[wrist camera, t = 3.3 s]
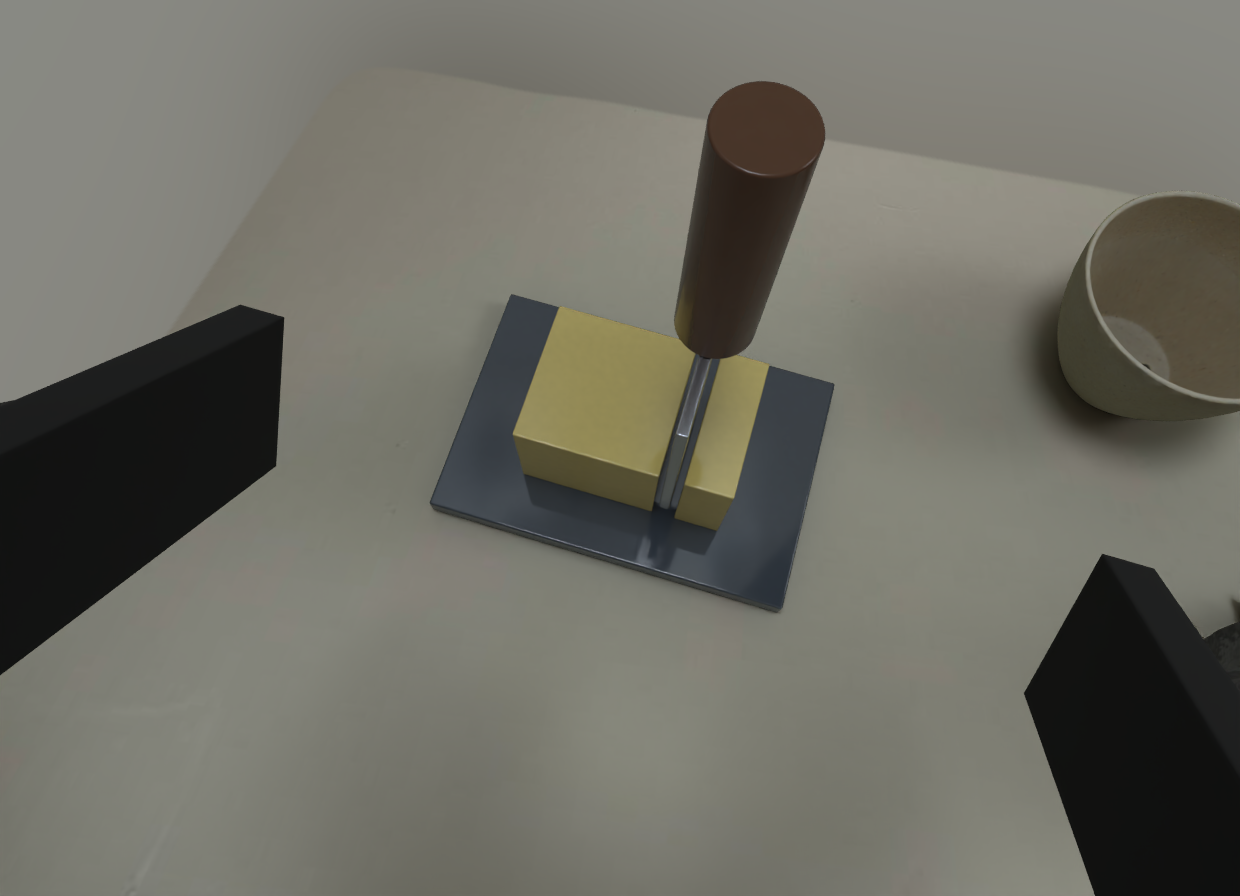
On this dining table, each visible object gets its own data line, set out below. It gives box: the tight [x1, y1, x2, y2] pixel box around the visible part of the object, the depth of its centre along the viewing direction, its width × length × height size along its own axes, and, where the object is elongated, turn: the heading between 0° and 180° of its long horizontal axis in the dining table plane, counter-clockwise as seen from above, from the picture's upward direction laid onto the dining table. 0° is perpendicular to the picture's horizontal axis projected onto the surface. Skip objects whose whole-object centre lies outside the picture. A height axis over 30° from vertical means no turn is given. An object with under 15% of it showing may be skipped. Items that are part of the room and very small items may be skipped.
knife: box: [659, 81, 825, 509], centre depth 27 cm, size 3×8×17 cm, turn 163°
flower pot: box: [1058, 191, 1240, 421], centre depth 39 cm, size 10×10×7 cm
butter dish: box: [430, 294, 834, 612], centre depth 37 cm, size 16×11×6 cm
